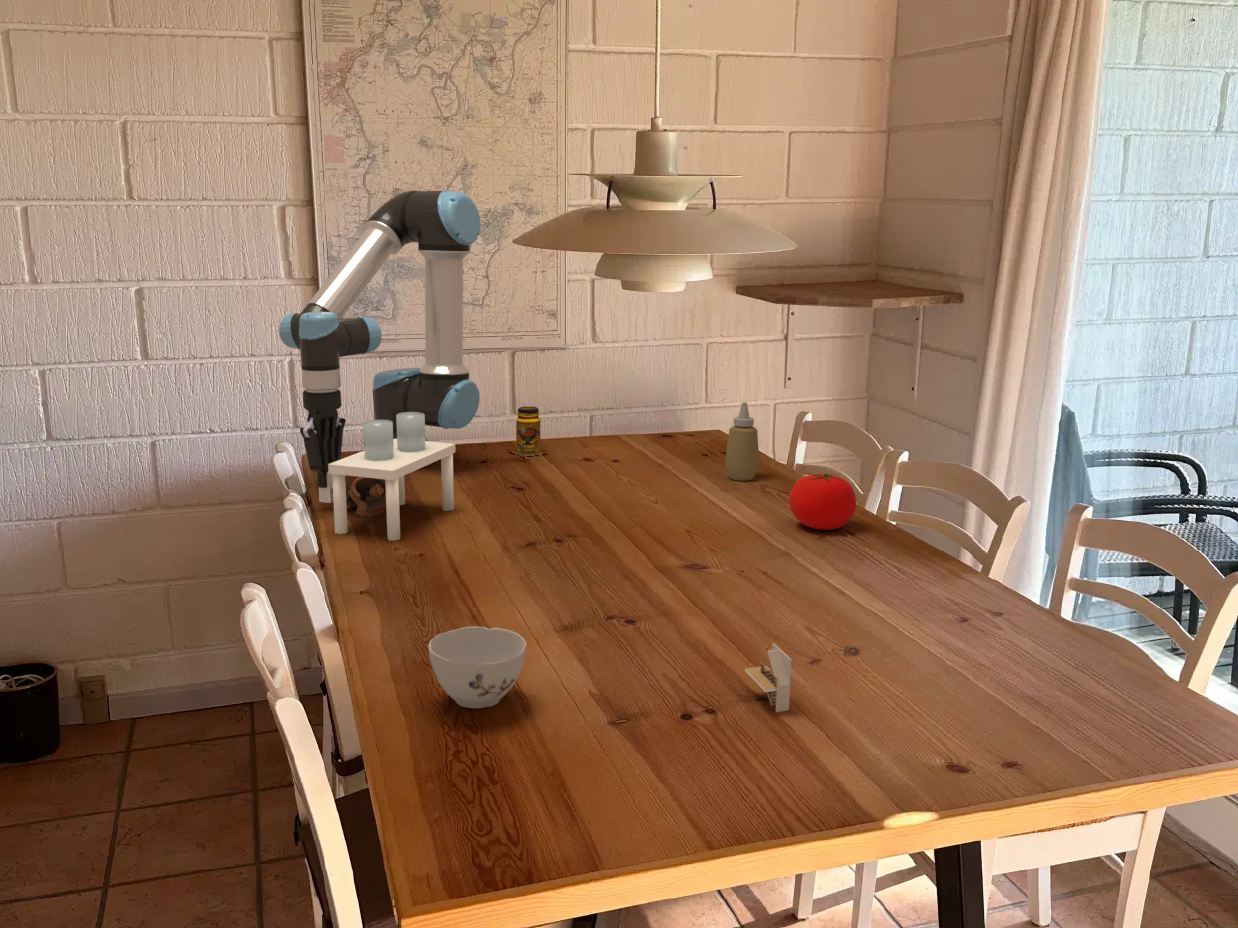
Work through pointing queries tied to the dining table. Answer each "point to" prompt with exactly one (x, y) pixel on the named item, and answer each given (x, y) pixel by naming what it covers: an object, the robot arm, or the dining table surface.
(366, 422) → the tumbler
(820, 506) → the tomato
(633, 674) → the dining table surface
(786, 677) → the architectural model
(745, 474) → the squeeze bottle
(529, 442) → the condiment
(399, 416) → the grey domed cylinder
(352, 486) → the pottery mug
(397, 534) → the side counter
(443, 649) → the teacup
